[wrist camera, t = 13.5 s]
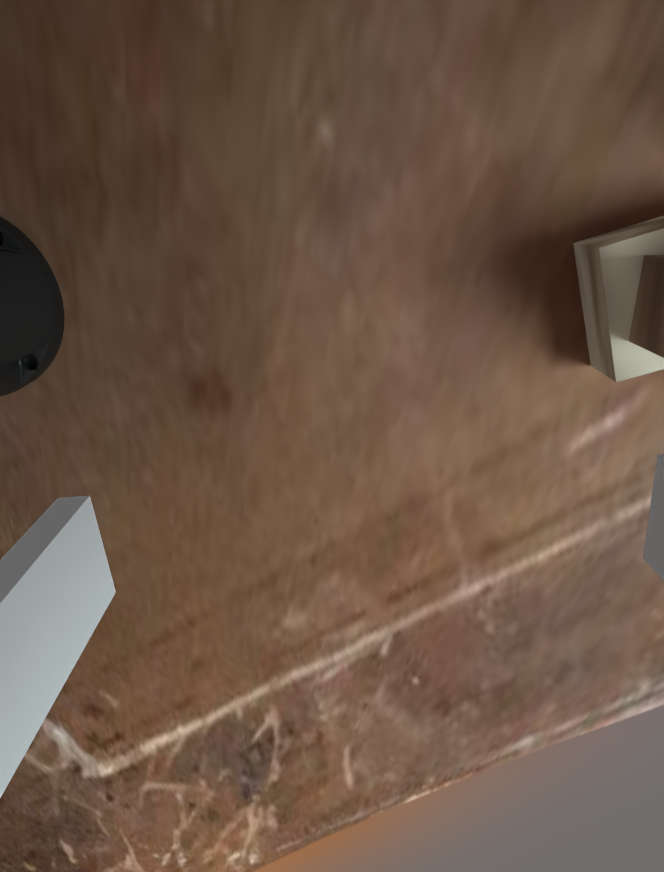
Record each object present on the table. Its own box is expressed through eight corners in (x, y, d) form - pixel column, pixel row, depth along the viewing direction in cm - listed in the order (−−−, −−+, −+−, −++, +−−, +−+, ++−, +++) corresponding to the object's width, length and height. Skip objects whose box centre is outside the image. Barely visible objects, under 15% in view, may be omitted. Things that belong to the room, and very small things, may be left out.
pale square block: (589, 364, 48) (616, 382, 44) (571, 242, 45) (599, 247, 40) (713, 329, 47) (755, 343, 42) (706, 201, 43) (750, 202, 39)
